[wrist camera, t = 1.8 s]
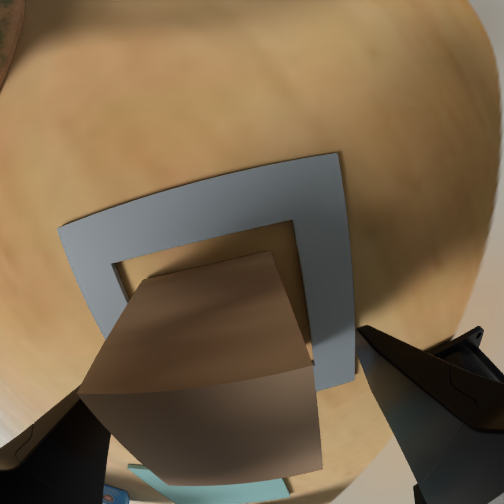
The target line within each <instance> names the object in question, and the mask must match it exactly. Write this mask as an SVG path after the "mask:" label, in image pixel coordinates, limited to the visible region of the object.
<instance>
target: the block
mask: <svg viewBox="0 0 504 504" xmlns="http://www.w3.org/2000/svg"><path fill="white" fill-rule="evenodd" d="M77 394H78V396H79V397H80V398H81V400H82V401H83V402H84V403H85V405H86V406H87V407H88V408H89V409H90V411H91V412H92V413H93V414H94V415H95V416H96V418H97V419H98V420H99V421H100V422H101V423H102V424H103V425H104V427H105V428H106V429H107V430H108V431H109V432H110V433H111V434H112V435H113V436H114V437H115V438H116V439H117V440H118V441H119V442H120V443H121V444H122V445H123V446H124V447H125V448H126V449H127V450H128V451H129V452H130V453H131V454H132V455H133V456H134V457H135V458H136V459H137V460H139V461H140V462H141V463H142V464H143V465H144V466H145V467H146V468H148V469H149V470H150V471H151V472H152V473H153V474H155V475H156V476H157V477H158V478H160V479H161V480H162V481H163V482H165V483H166V484H167V485H168V486H217V485H233V484H244V483H253V482H260V481H267V480H274V479H280V478H285V477H291V476H295V475H300V474H305V473H309V472H313V471H317V470H321V469H323V465H322V451H321V439H320V428H319V417H318V407H317V398H316V389H315V380H314V372H313V365H312V362H311V359H310V356H309V354H308V351H307V348H306V345H305V343H304V340H303V337H302V334H301V332H300V329H299V326H298V323H297V321H296V318H295V315H294V313H293V310H292V307H291V304H290V302H289V299H288V296H287V294H286V291H285V288H284V286H283V283H282V280H281V278H280V275H279V272H278V270H277V267H276V264H275V262H274V259H273V257H272V254H271V251H266V252H261V253H257V254H253V255H248V256H244V257H240V258H235V259H231V260H227V261H222V262H218V263H214V264H209V265H205V266H201V267H196V268H192V269H188V270H183V271H179V272H175V273H170V274H166V275H162V276H157V277H153V278H148V279H144V280H142V282H141V283H140V285H139V287H138V288H137V290H136V291H135V293H134V294H133V296H132V298H131V299H130V301H129V302H128V304H127V305H126V307H125V309H124V310H123V312H122V314H121V315H120V317H119V319H118V320H117V322H116V324H115V325H114V327H113V329H112V330H111V332H110V334H109V335H108V337H107V339H106V341H105V342H104V344H103V346H102V347H101V349H100V351H99V353H98V355H97V356H96V358H95V360H94V362H93V364H92V365H91V367H90V369H89V371H88V373H87V375H86V377H85V379H84V380H83V382H82V384H81V386H80V388H79V390H78V392H77Z"/></svg>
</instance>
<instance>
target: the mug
mask: <svg viewBox="0 0 504 504" xmlns="http://www.w3.org/2000/svg"><path fill="white" fill-rule="evenodd" d="M24 13H25V1H24V0H0V88H1V86H2V83H3V81H4V79H5V76H6V73H7V71H8V68H9V66H10V63H11V60H12V57H13V55H14V52H15V49H16V46H17V43H18V39H19V36H20V32H21V29H22V24H23V19H24Z"/></svg>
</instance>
